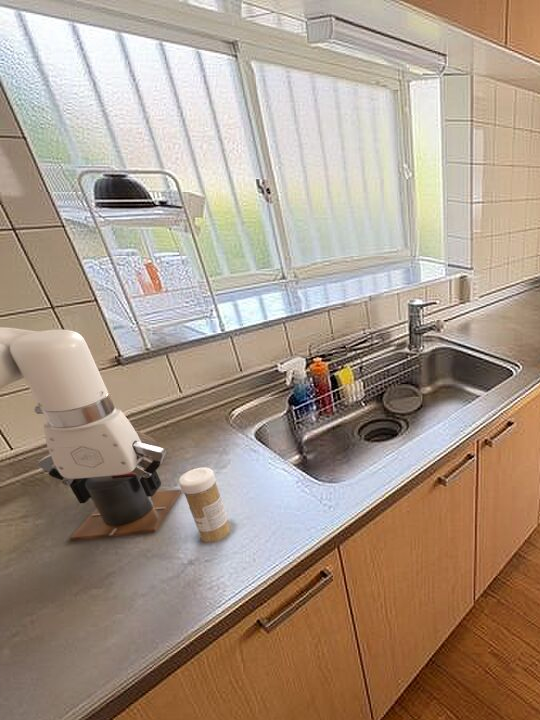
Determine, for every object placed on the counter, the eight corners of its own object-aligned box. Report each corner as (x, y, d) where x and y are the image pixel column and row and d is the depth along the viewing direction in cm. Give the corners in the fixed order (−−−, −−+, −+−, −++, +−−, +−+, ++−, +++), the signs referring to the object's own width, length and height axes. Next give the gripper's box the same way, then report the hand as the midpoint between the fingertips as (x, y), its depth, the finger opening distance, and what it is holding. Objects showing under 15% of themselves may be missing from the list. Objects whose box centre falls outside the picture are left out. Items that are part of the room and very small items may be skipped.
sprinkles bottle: (197, 538, 72) (172, 477, 66) (225, 522, 75) (204, 462, 69) (209, 551, 70) (185, 489, 64) (238, 534, 73) (218, 473, 67)
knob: (94, 528, 71) (73, 490, 67) (118, 500, 77) (100, 464, 73) (141, 523, 72) (123, 486, 68) (161, 496, 78) (145, 460, 74)
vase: (158, 453, 91) (144, 419, 87) (170, 466, 88) (157, 431, 84) (117, 468, 86) (101, 433, 82) (129, 483, 83) (112, 446, 79)
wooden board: (70, 546, 69) (66, 539, 68) (111, 500, 78) (107, 493, 78) (155, 537, 72) (152, 530, 71) (184, 493, 81) (182, 486, 80)
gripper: (-10, 427, 60) (45, 516, 67) (132, 418, 63) (168, 503, 71) (30, 401, 66) (76, 485, 74) (157, 394, 70) (188, 475, 78)
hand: (122, 494), depth 73 cm, fingers open, 9 cm apart
